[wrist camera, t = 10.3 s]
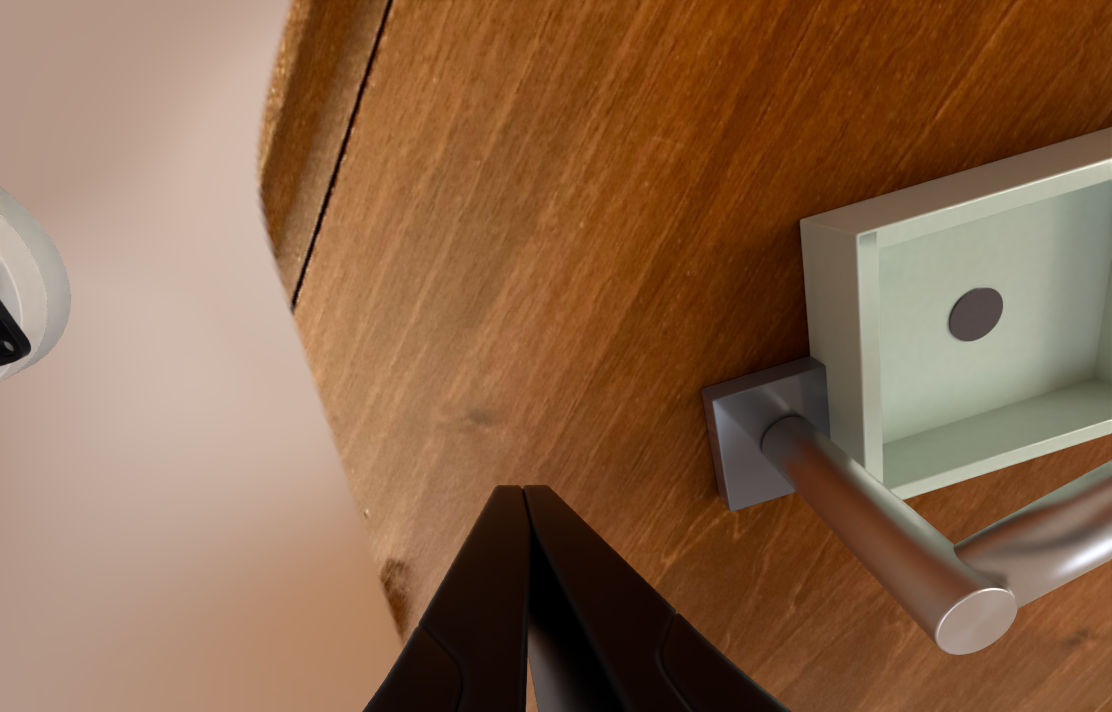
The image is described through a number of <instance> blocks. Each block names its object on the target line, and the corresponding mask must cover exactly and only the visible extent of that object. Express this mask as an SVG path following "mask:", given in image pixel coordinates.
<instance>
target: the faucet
mask: <svg viewBox="0 0 1112 712" xmlns="http://www.w3.org/2000/svg"><path fill="white" fill-rule="evenodd" d="M762 450H763V454H764V456H765V458H766V459H767V460H768V461H769V462H770V463H771V464H772V465H773V466H774V468H775V469H776V470H777V471H778V472H779V473H780V474H781V475H782V476H783V477H784V479H785V480H786V481H787V482H788V483H789V484H790V485H791V486H792V487H793V488H794V489H795V491H796V492H797V493H798V494H799V495H800V496H801V497H802V498H803V499H804V500H805V501H806V503H807V504H808V505H809V506H810V507H811V508H812V509H813V510H814V511H815V512H816V514H817V515H818V516H819V517H820V518H821V519H822V520H823V521H824V522H825V523H826V524H827V526H828V527H829V528H830V529H831V530H832V531H833V532H834V533H835V534H836V535H837V536H838V538H839V539H840V540H841V541H842V542H843V543H844V544H845V545H846V546H847V547H848V549H849V550H850V551H851V552H852V553H853V554H854V555H855V556H856V557H857V558H858V559H859V561H860V562H861V563H862V564H863V565H864V566H865V567H866V568H867V569H868V570H869V571H870V573H871V574H872V575H873V576H874V577H875V578H876V579H877V580H878V581H879V582H880V584H881V585H882V586H883V587H884V588H885V589H886V590H887V591H888V592H889V593H890V594H891V596H892V597H893V598H894V599H895V600H896V601H897V602H898V603H899V604H900V605H901V606H902V608H903V609H904V610H905V611H906V612H907V613H908V614H909V615H910V616H911V617H912V619H913V620H914V621H915V622H916V623H917V624H918V625H919V626H920V627H921V628H922V629H923V631H924V632H925V633H926V634H927V635H928V636H929V637H930V638H931V639H932V640H933V641H934V643H935V644H936V645H937V646H938V647H939V648H940V649H941V650H943V651H945V652H947V653H950V654H955V655H962V654H968V653H972V652H976V651H978V650H981V649H983V648H985V647H987V646H988V645H990V644H992V643H993V642H995V641H996V640H997V639H999V638H1000V637H1001V636H1002V635H1003V634H1004V633H1005V632H1006V631H1007V630H1008V628H1009V627H1010V626H1011V624H1012V622H1013V621H1014V619H1015V616H1016V613H1017V609H1018V608H1020V607H1021V606H1023V605H1025V604H1027V603H1029V602H1031V601H1033V600H1035V599H1037V598H1039V597H1040V596H1042V595H1044V594H1046V593H1048V592H1050V591H1052V590H1054V589H1056V588H1058V587H1060V586H1061V585H1063V584H1065V583H1067V582H1069V581H1071V580H1073V579H1075V578H1077V577H1079V576H1080V575H1082V574H1084V573H1086V572H1088V571H1090V570H1092V569H1094V568H1096V567H1098V566H1100V565H1101V564H1103V563H1105V562H1107V561H1109V560H1111V559H1112V460H1111V461H1109V462H1107V463H1105V464H1103V465H1101V466H1099V467H1098V468H1096V469H1094V470H1092V471H1090V472H1088V473H1087V474H1085V475H1083V476H1081V477H1079V478H1077V479H1075V480H1074V481H1072V482H1070V483H1068V484H1066V485H1064V486H1062V487H1061V488H1059V489H1057V490H1055V491H1053V492H1051V493H1049V494H1048V495H1046V496H1044V497H1042V498H1040V499H1038V500H1036V501H1035V502H1033V503H1031V504H1029V505H1027V506H1025V507H1023V508H1022V509H1020V510H1018V511H1016V512H1014V513H1012V514H1010V515H1009V516H1007V517H1005V518H1003V519H1001V520H999V521H997V522H996V523H994V524H992V525H990V526H988V527H986V528H985V529H983V530H981V531H979V532H977V533H975V534H973V535H972V536H970V537H968V538H966V539H964V540H962V541H960V542H959V543H957V544H955V545H954V544H953V543H952V542H951V541H949V540H948V539H947V538H946V537H945V536H944V535H942V534H941V533H940V532H939V531H938V530H936V529H935V528H934V527H933V526H932V525H931V524H929V523H928V522H927V521H926V520H925V519H924V518H922V517H921V516H920V515H919V514H918V513H916V512H915V511H914V510H913V509H912V508H911V507H909V506H908V505H907V504H906V503H905V502H903V501H902V500H901V499H900V498H899V497H898V496H896V495H895V494H894V493H893V492H892V491H890V490H889V489H888V488H887V487H886V486H885V485H883V484H882V483H881V482H880V481H879V480H877V479H876V478H875V477H874V476H873V475H872V474H870V473H869V472H868V471H867V470H866V469H864V468H863V467H862V466H861V465H860V464H859V463H857V462H856V461H855V460H854V459H853V458H852V457H850V456H849V455H848V454H847V453H846V452H844V451H843V450H842V449H841V448H840V447H839V446H837V445H836V444H835V443H834V442H833V441H831V440H830V439H829V438H828V437H827V436H826V435H824V434H823V433H822V432H821V431H820V430H818V429H817V428H816V427H815V426H814V425H813V424H811V423H810V422H809V421H808V420H806V419H804V418H801V417H788V418H784V419H782V420H780V421H778V422H776V423H775V424H774V425H773V426H772V427H771V428H770V429H769V430H768V431H767V433H766V434H765V436H764V439H763V443H762Z"/></svg>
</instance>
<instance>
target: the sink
mask: <svg viewBox="0 0 1112 712" xmlns="http://www.w3.org/2000/svg"><path fill="white" fill-rule="evenodd" d="M800 232H801V244H802V257H803V270H804V282H805V295H806V308H807V320H808V333H809V346H810V356H807V357H804V358H800V359H797V360H794V361H791V362H787V363H784V364H781V365H778V366H774V367H771V368H768V369H765V370H761V371H758V372H755V373H751V374H748V375H745V376H742V377H738V378H735V379H732V380H729V381H725V382H722V383H719V384H716V385H712V386H709V387H706V388H703V389H701V392H702V398H703V404H704V410H705V416H706V421H707V427H708V433H709V439H710V444H711V450H712V456H713V462H714V468H715V473H716V479H717V485H718V491H719V497H720V498H721V500H722V501H723V503H724V504H725V506H726V507H727V509H728V510H729V511H730V512H733V511H736V510H740V509H743V508H746V507H749V506H752V505H755V504H759V503H762V502H765V501H768V500H771V499H774V498H778V497H781V496H784V495H787V494H790V493H793V492H796V491H795V489H794V488H793V487H792V486H791V485H790V484H789V483H788V482H787V481H786V480H785V479H784V477H783V476H782V475H781V474H780V473H779V472H778V471H777V470H776V469H775V468H774V466H773V465H772V464H771V463H770V462H769V461H768V460H767V459H766V458H765V456H764V454H763V450H762V443H763V439H764V436H765V434H766V433H767V431H768V430H769V429H770V428H771V427H772V426H773V425H774V424H775V423H776V422H778V421H780V420H782V419H784V418H788V417H801V418H804V419H806V420H808V421H809V422H810V423H811V424H813V425H814V426H815V427H816V428H817V429H818V430H820V431H821V432H822V433H823V434H824V435H826V436H827V437H828V438H829V439H830V440H831V441H833V442H834V443H835V444H836V445H837V446H839V447H840V448H841V449H842V450H843V451H844V452H846V453H847V454H848V455H849V456H850V457H852V458H853V459H854V460H855V461H856V462H857V463H859V464H860V465H861V466H862V467H863V468H864V469H866V470H867V471H868V472H869V473H870V474H872V475H873V476H874V477H875V478H876V479H877V480H879V481H880V482H881V483H882V484H883V485H885V486H886V487H887V488H888V489H889V490H890V491H892V492H893V493H894V494H895V495H896V496H898V497H899V498H900V499H901V500H904V499H907V498H910V497H914V496H917V495H920V494H923V493H926V492H929V491H932V490H935V489H939V488H942V487H945V486H948V485H951V484H954V483H957V482H961V481H964V480H967V479H970V478H973V477H976V476H979V475H983V474H986V473H989V472H992V471H995V470H998V469H1001V468H1005V467H1008V466H1011V465H1014V464H1017V463H1020V462H1023V461H1027V460H1030V459H1033V458H1036V457H1039V456H1042V455H1045V454H1049V453H1052V452H1055V451H1058V450H1061V449H1064V448H1067V447H1071V446H1074V445H1077V444H1080V443H1083V442H1086V441H1089V440H1092V439H1096V438H1099V437H1102V436H1105V435H1108V434H1111V433H1112V127H1109V128H1106V129H1103V130H1099V131H1096V132H1093V133H1089V134H1086V135H1082V136H1079V137H1076V138H1072V139H1069V140H1066V141H1062V142H1059V143H1056V144H1052V145H1049V146H1046V147H1042V148H1039V149H1035V150H1032V151H1029V152H1025V153H1022V154H1019V155H1015V156H1012V157H1009V158H1005V159H1002V160H999V161H995V162H992V163H988V164H985V165H982V166H978V167H975V168H972V169H968V170H965V171H962V172H958V173H955V174H951V175H948V176H945V177H941V178H938V179H935V180H931V181H928V182H925V183H921V184H918V185H915V186H911V187H908V188H904V189H901V190H898V191H894V192H891V193H888V194H884V195H881V196H878V197H874V198H871V199H868V200H864V201H861V202H857V203H854V204H851V205H847V206H844V207H841V208H837V209H834V210H831V211H827V212H824V213H820V214H817V215H814V216H810V217H807V218H804V219H801V220H800Z"/></svg>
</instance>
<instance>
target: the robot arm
mask: <svg viewBox="0 0 1112 712" xmlns="http://www.w3.org/2000/svg"><path fill="white" fill-rule="evenodd" d="M4 341H5V342H7V343H9V344H10V345H11V346H12V347H13V350H14V351H11V350H9V349H8V348H7V347H6V346H5V344H4ZM30 352H31V344H30V342H29V340H28V338H27V337H26V335H25V334H24V332H23V331H22V330H21V328H20V327H19V325H18V324H17V323H16V321H15V320H14V318H13V317H12V315H11V314H10V313H9V311H8V310H7V308H6V307H5V306H4V304H3V303H2V301H1V300H0V366H3V365H7V364H10V363H13V362H16V361H18V360H20V359H22V358H24V357H25V356H27V355H29V353H30ZM527 658H529V663H530V669H531V674H532V679H533V685H534V690H535V696H536V701H537V707H538V712H791V711H790V710H789V709H788V708H786V707H785V706H784V705H783V704H782V703H780V702H779V701H778V700H777V699H775V698H774V697H773V696H772V695H770V694H769V693H768V692H767V691H765V690H764V689H763V688H762V687H761V686H759V685H758V684H757V683H756V682H755V681H753V680H752V679H751V678H750V677H749V676H748V675H746V674H745V673H744V672H743V671H742V670H740V669H739V668H738V667H737V666H736V665H734V664H733V663H732V662H731V661H730V660H729V659H727V658H726V657H725V656H724V655H723V654H722V653H721V652H720V651H719V650H718V649H716V648H715V647H714V646H713V645H712V644H711V643H710V642H709V641H708V640H707V639H706V638H705V637H704V636H702V635H701V634H700V633H699V632H698V631H697V630H696V629H695V628H694V627H693V626H692V625H691V624H690V623H689V622H688V621H687V620H686V619H685V618H684V617H683V616H682V615H681V614H679V613H677V614H676V610H675V609H674V608H673V607H672V606H671V605H670V604H669V603H668V602H667V601H666V600H665V599H664V598H663V597H662V596H661V595H660V594H659V593H658V592H657V591H656V590H655V589H654V588H653V587H652V586H651V585H650V584H648V583H647V582H646V581H645V580H644V579H643V578H642V577H641V576H640V575H639V574H638V573H637V572H636V571H635V570H634V569H633V568H632V567H631V566H630V565H629V564H628V563H627V562H626V561H625V560H624V559H623V558H622V557H621V556H620V555H619V554H618V553H617V552H616V551H615V550H614V549H613V548H612V547H611V546H609V545H608V544H607V543H606V542H605V541H604V540H603V539H602V538H601V537H600V536H599V535H598V534H597V533H596V532H595V531H594V530H593V529H592V528H591V527H590V526H589V525H588V524H587V523H586V522H585V521H584V520H583V519H582V518H581V517H580V516H579V515H578V514H577V513H576V512H575V511H574V510H573V509H572V508H570V507H569V506H568V505H567V504H566V503H565V502H564V501H563V500H562V499H561V498H560V497H559V496H558V495H557V494H556V493H555V492H554V491H553V490H552V489H551V488H550V487H549V486H547V485H525V486H523V488H521V487H520V486H519V485H498V486H496V487H495V489H494V490H493V492H492V494H491V496H490V497H489V499H488V501H487V503H486V504H485V506H484V508H483V510H482V511H481V513H480V515H479V517H478V519H477V520H476V522H475V524H474V526H473V527H472V529H471V531H470V533H469V535H468V536H467V538H466V540H465V542H464V543H463V545H462V547H461V549H460V551H459V552H458V554H457V556H456V558H455V559H454V561H453V563H452V565H451V567H450V568H449V570H448V572H447V574H446V575H445V577H444V579H443V581H442V582H441V584H440V586H439V588H438V590H437V591H436V593H435V595H434V597H433V598H432V600H431V602H430V604H429V606H428V607H427V609H426V611H425V613H424V614H423V616H422V618H421V620H420V622H419V624H418V626H417V627H416V628H415V630H414V632H413V633H412V635H411V637H410V639H409V640H408V642H407V644H406V646H405V648H404V649H403V651H402V653H401V654H400V656H399V658H398V659H397V661H396V663H395V664H394V666H393V667H392V669H391V670H390V672H389V674H388V675H387V677H386V679H385V680H384V682H383V683H382V685H381V686H380V687H379V689H378V690H377V692H376V693H375V695H374V696H373V698H372V699H371V700H370V702H369V703H368V705H367V706H366V707H365V709H364V710H363V712H526V686H527Z"/></svg>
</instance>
